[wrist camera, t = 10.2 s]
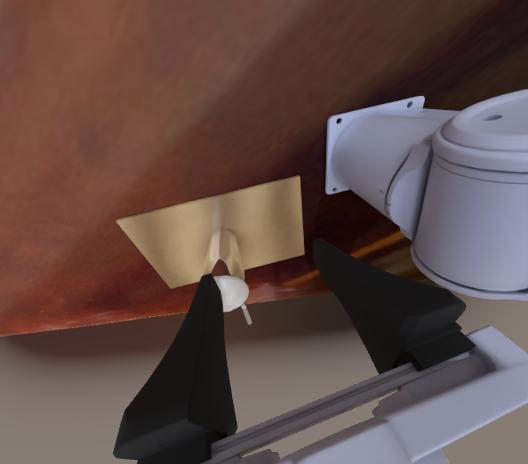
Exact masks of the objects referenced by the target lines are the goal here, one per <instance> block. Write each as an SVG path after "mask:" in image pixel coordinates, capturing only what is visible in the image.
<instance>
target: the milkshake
mask: <svg viewBox="0 0 528 464" xmlns="http://www.w3.org/2000/svg"><path fill="white" fill-rule="evenodd" d="M209 273H211V274H212V276H213V278H214V279H215V281H216V283H217V285H218V287H219V289H220V291H221V295H222V301H223V312H229V311H231V310H233V309H235V308H237V307H239V306H240V305H241V307H242V309H243V312H244V315H245V317H246V319H247V322H248V324H249V325H250V324H251V323H252V321H251V318H250V316H249V313H248V311H247V308H246V306H245V303H244V302H245V300H246V299H247V297H248V294H249V289H248V285H247V281H246V277H245V273H244V269H243V266H242V262H241V258H240V253H239V248H238V243H237V239H236V235H235V234H234V233H233V232H231V231H230V230H224V229H220V230H218V231H216V232H214V233H213V234H212V236H211V238H210V241H209V245H208V250H207V255H206V259H205V264H204V269H203V272H202V276H203V275H206V274H209ZM202 276H201V277H202Z"/></svg>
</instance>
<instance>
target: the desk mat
mask: <svg viewBox="0 0 528 464" xmlns="http://www.w3.org/2000/svg"><path fill="white" fill-rule="evenodd" d="M116 222H117V223H118V224H119V226H120V227H121V228H122V229H123V231H124V232H125V233H126V234H127V235H128V237H129V238H130V239H131V240H132V242H133V243H134V244H135V245H136V247H137V248H138V249H139V250H140V251H141V253H142V254H143V255H144V256H145V258H146V259H147V260H148V261H149V263H150V264H151V265H152V266H153V267H154V269H155V270H156V271H157V272H158V274H159V275H160V276H161V277H162V279H163V280H164V281H165V282H166V283H167V285H168V286H169V287H170V288H175V287H179V286H183V285H187V284H191V283H195V282H199V281H200V279H201V276H202V272H203V269H204V264H205V259H206V255H207V250H208V245H209V241H210V238H211V236H212V234H213V233H214V232H216V231H218V230H220V229H224V230H230V231H231V232H233V233H234V234H235V235H236V239H237V243H238V248H239V253H240V258H241V262H242V266H243V269H244V270H246V269H249V268H253V267H257V266H261V265H265V264H269V263H273V262H277V261H281V260H285V259H289V258H293V257H296V256H300V255H304V239H303V221H302V204H301V186H300V177H299V176H294V177H290V178H286V179H282V180H278V181H274V182H269V183H265V184H261V185H257V186H253V187H249V188H245V189H240V190H236V191H232V192H228V193H224V194H220V195H215V196H211V197H207V198H203V199H199V200H195V201H191V202H186V203H182V204H178V205H174V206H170V207H166V208H161V209H157V210H153V211H149V212H145V213H141V214H137V215H132V216H128V217H124V218H120V219H118V220H117V221H116Z"/></svg>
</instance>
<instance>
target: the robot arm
mask: <svg viewBox="0 0 528 464" xmlns="http://www.w3.org/2000/svg"><path fill="white" fill-rule="evenodd" d="M424 100H425V99H424V97H423V96H417V97H412V98H408V99H404V100H399V101H395V102H391V103H386V104H382V105H378V106H374V107H369V108H365V109H361V110H356V111H352V112H348V113H343V114H339V115H335V116H331V117H330V118H329V119H328V122H327V146H326V179H325V192H326V193H327V194H334V193H338V192H342V191H346V190H352V191H353V192H354V193H356V194H357V195H358V196H360V197H361V198H362V199H364V200H365V201H366V202H368V203H369V204H370V205H372V206H373V207H374V208H376V209H377V210H378V211H380V212H381V213H382V214H384V215H385V216H386V217H388V218H389V219H390V220H392V221H393V222H394V223H396V224H397V225H398V226H399V227H400V232H401V233H402V234H404V235H405V236H406V237H407V238H409V239H410V240H411V241H413V242H412V245H411V256H412V259H413V261H414V263H415V264H416V266H417V267H418V268H419V269H420V271H421V272H422V273H424V274H425V275H426V276H427V277H428V278H430V279H431V280H433V281H434V282H436V283H438V284H440V285H442V286H443V287H445V288H448V289H450V290H453V291H455V292H458V293H461V294H465V295H468V296H473V297H477V298H484V299H493V300H523V301H528V89H526V90H521V91H517V92H512V93H508V94H504V95H501V96H497V97H494V98H491V99H488V100H485V101H482V102H479V103H477V104H474V105H472V106H470V107H468V108H466V109H464V110H462V111H448V110H434V109H422V108H423V104H424ZM408 103H409V106H408V107H407V105H408ZM338 118H339V119H340V121H339V123H338V124H337V123H336V121H337V119H338ZM333 188H335V189H334V190H333ZM313 261H314V263H315V265H316V267H317V269H318V271H319V272H320V274H321V275H322V277H323V278H324V280H325V281H326V283H327V284H328V285H329V287H330V288H331V289H332V291H333V292H334V294H335V295H336V296H337V298H338V299H339V301H340V302H341V304H342V305H343V307H344V309H345V310H346V312H347V314H348V315H349V317H350V319H351V321H352V322H353V324H354V326H355V328H356V330H357V332H358V333H359V336H360V337H361V339H362V341H363V343H364V345H365V347H366V349H367V351H368V353H369V355H370V356H371V359H372V361H373V363H374V365H375V367H376V369H377V371H378V373H379V375H377V376H375V377H372V378H370V379H368V380H365V381H363V382H360V383H358V384H355V385H353V386H351V387H348V388H346V389H343V390H341V391H338V392H336V393H334V394H331V395H329V396H326V397H324V398H322V399H319V400H317V401H314V402H312V403H309V404H307V405H305V406H302V407H299V408H297V409H295V410H292V411H290V412H287V413H285V414H282V415H280V416H277V417H275V418H273V419H270V420H268V421H265V422H263V423H260V424H258V425H255V426H253V427H251V428H248V429H246V430H243V431H241V432H239V433H236V434H235V432H236V430H237V421H236V416H235V411H234V404H233V399H232V393H231V387H230V380H229V373H228V367H227V359H226V351H225V341H224V313H223V301H222V295H221V291H220V289H219V287H218V285H217V283H216V281H215V279H214V278H213V276H212V274H211V273H209V274H206V275H203V276H202V277H201V279H200V282H199V285H198V288H197V290H196V293H195V296H194V298H193V301H192V303H191V306H190V308H189V311H188V313H187V315H186V317H185V319H184V322H183V324H182V326H181V328H180V330H179V332H178V333H177V335H176V337H175V339H174V341H173V342H172V344H171V346H170V348H169V349H168V351H167V353H166V354H165V356H164V357H163V359H162V360H161V362H160V363H159V365H158V366H157V368H156V369H155V371H154V372H153V374H152V375H151V376H150V378H149V379H148V381H147V382H146V384H145V385H144V386H143V387H142V389H141V390H140V391H139V393H138V394H137V395H136V397H135V398H134V399H133V401H132V402H131V403H130V404H129V406H128V407H127V408H126V409H125V412H124V415H123V418H122V421H121V424H120V428H119V433H118V436H117V440H116V444H115V447H114V451H113V455H114V456H115V457H116V458H120V459H130V460H138V462H137V464H450V462H449V461H448V459H447V458H446V456H445V455H444V453H443V452H442V451H441V449H440V448H442V447H443V446H445V445H447V444H449V443H451V442H453V441H455V440H457V439H459V438H461V437H463V436H465V435H467V434H468V433H470V432H472V431H474V430H476V429H478V428H480V427H482V426H484V425H486V424H488V423H490V422H491V421H493V420H495V419H497V418H499V417H501V416H503V415H505V414H507V413H509V412H511V411H513V410H514V409H516V408H518V407H520V406H522V405H524V404H526V403H528V354H527V353H526V352H525V351H524V350H522V349H521V348H519V347H518V346H517V345H516V344H515V343H513V342H512V341H511V340H509V339H508V338H507V337H506V336H504V335H503V334H502V333H500V332H499V331H498V330H496V329H495V328H494V327H493V326H491V325H488V326H485V327H483V328H480V329H478V330H475V331H473V332H471V333H469V334H467V335H466V336H465V335H464V334H463V333H462V332H460V330H461V329H462V328H461V326H459V325H458V324H457V323H456V322H455V321H456V320H457V319H458V318H459V317H460V316H461V314H462V313H463V312H464V311H465V309H466V304H465V303H464V302H463V301H462V300H460V299H459V298H458V297H456V296H455V295H454V294H452V293H451V292H450V291H448V290H447V289H443V288H439V287H435V286H431V285H427V284H423V283H419V282H416V281H412V280H409V279H406V278H402V277H399V276H396V275H394V274H391V273H388V272H385V271H383V270H380V269H378V268H375V267H373V266H371V265H368V264H366V263H364V262H362V261H360V260H358V259H356V258H354V257H352V256H350V255H349V254H347V253H345V252H343V251H342V250H340V249H338V248H337V247H335V246H333V245H332V244H330V243H328V242H327V241H325V240H323V239H322V238H319V239H316V240H313ZM396 390H398V391H397V392H396V393H394V394H392V395H390V396H388V397H386V398H385V399H383V400H381V401H379V405H378V406H377V407H376V408H375V409H374V410H373V411H372V413H373V415H374V418H371V419H369V420H366V421H364V422H361V423H359V424H356V425H354V426H351V427H349V428H347V429H344V430H342V431H340V432H337V433H335V434H333V435H331V436H328V437H326V438H324V439H322V440H319V441H317V442H315V443H313V444H311V445H308V446H306V447H304V448H302V449H300V450H298V451H296V452H294V453H292V454H289V455H288V456H285V457H283V458H281V459H280V458H279V453H278V452H272V451H271V450H270V449H267V450H264V451H261V452H258V453H255V454H252V455H249V456H246V457H244V458H243V457H241V456H243V455H245V454H248V453H250V452H252V451H255V450H257V449H259V448H262V447H264V446H266V445H269V444H271V443H273V442H276V441H278V440H281V439H283V438H285V437H287V436H290V435H292V434H295V433H297V432H299V431H302V430H304V429H306V428H309V427H311V426H314V425H316V424H318V423H321V422H323V421H325V420H328V419H330V418H332V417H335V416H337V415H339V414H342V413H344V412H347V411H349V410H351V409H354V408H356V407H358V406H361V405H363V404H365V403H368V402H370V401H372V400H374V399H377V398H380V397H382V396H384V395H386V394H389V393H391V392H393V391H396Z"/></svg>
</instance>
